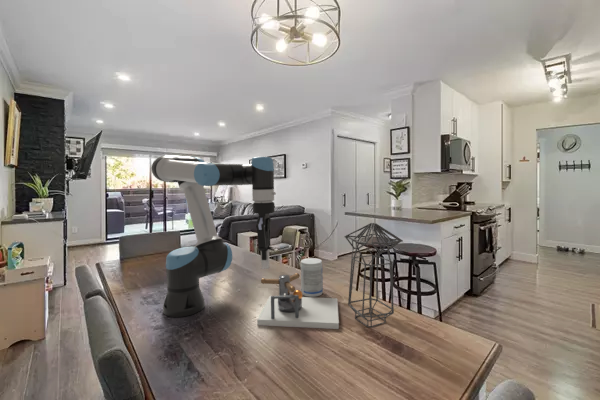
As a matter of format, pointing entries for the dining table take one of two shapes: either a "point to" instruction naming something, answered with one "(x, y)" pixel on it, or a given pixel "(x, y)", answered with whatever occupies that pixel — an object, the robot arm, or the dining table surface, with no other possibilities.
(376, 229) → the geometric lantern
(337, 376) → the dining table surface
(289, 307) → the capstan
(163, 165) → the robot arm
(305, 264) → the supplement tub
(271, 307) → the white base plate
